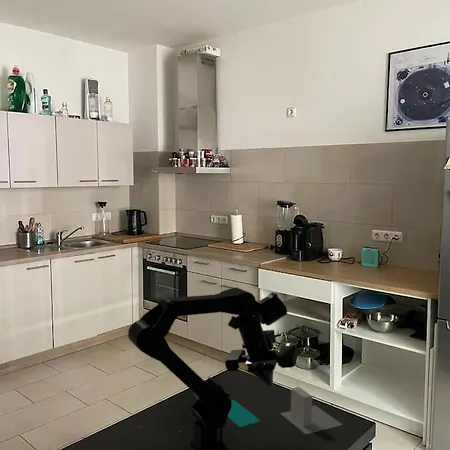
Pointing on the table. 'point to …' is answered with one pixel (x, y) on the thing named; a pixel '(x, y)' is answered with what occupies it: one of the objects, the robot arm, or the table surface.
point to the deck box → (301, 406)
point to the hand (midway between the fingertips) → (270, 385)
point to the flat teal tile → (241, 415)
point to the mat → (314, 421)
